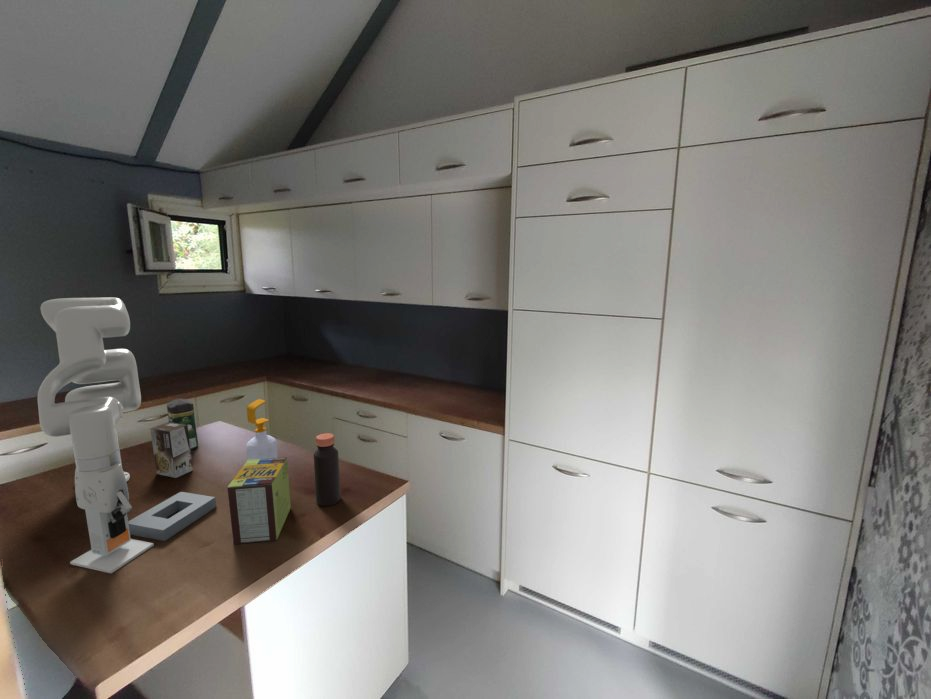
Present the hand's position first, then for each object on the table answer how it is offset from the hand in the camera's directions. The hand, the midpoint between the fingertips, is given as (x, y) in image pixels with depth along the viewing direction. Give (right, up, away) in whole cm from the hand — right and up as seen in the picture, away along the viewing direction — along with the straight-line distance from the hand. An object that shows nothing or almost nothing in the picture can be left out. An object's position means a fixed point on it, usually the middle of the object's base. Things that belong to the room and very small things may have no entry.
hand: (110, 532), depth 98 cm
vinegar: (+43, -2, +25) cm, 50 cm away
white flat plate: (0, -6, +1) cm, 6 cm away
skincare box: (0, -4, +1) cm, 4 cm away
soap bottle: (+16, +2, +43) cm, 46 cm away
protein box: (+30, -4, +13) cm, 33 cm away
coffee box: (-14, +2, +42) cm, 44 cm away
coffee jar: (-23, +5, +61) cm, 66 cm away
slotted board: (+5, -3, +15) cm, 16 cm away
